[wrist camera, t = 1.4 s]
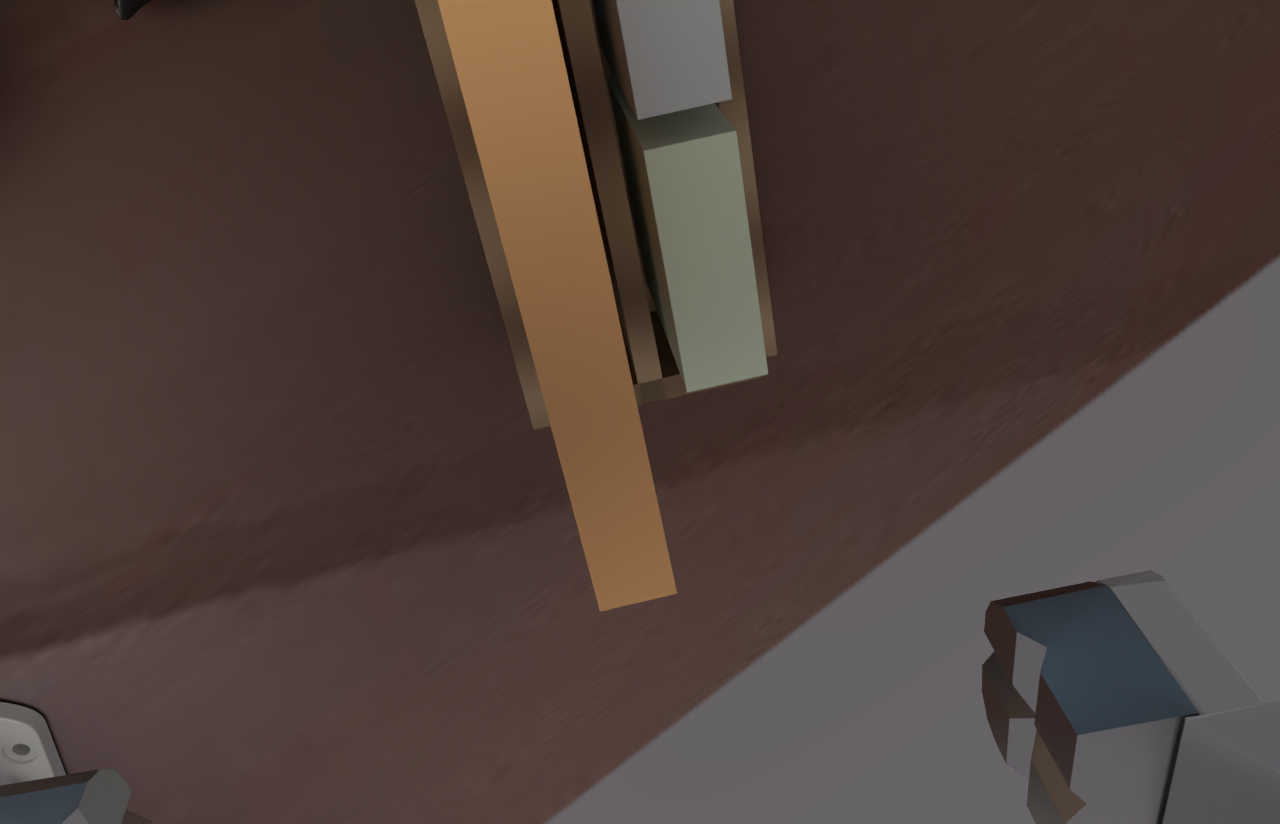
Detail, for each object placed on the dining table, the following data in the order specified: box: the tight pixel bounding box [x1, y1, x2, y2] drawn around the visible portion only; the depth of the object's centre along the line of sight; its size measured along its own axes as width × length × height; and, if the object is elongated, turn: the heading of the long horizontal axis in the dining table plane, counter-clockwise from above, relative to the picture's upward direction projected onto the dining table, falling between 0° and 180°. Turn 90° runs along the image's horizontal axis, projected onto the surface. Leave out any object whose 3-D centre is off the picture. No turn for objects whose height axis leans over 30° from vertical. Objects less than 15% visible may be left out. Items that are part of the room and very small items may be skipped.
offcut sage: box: [607, 75, 768, 393], centre depth 40 cm, size 9×3×10 cm, turn 11°
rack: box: [415, 0, 777, 430], centre depth 39 cm, size 24×10×8 cm, turn 11°
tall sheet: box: [438, 0, 677, 612], centre depth 32 cm, size 16×2×22 cm, turn 11°
